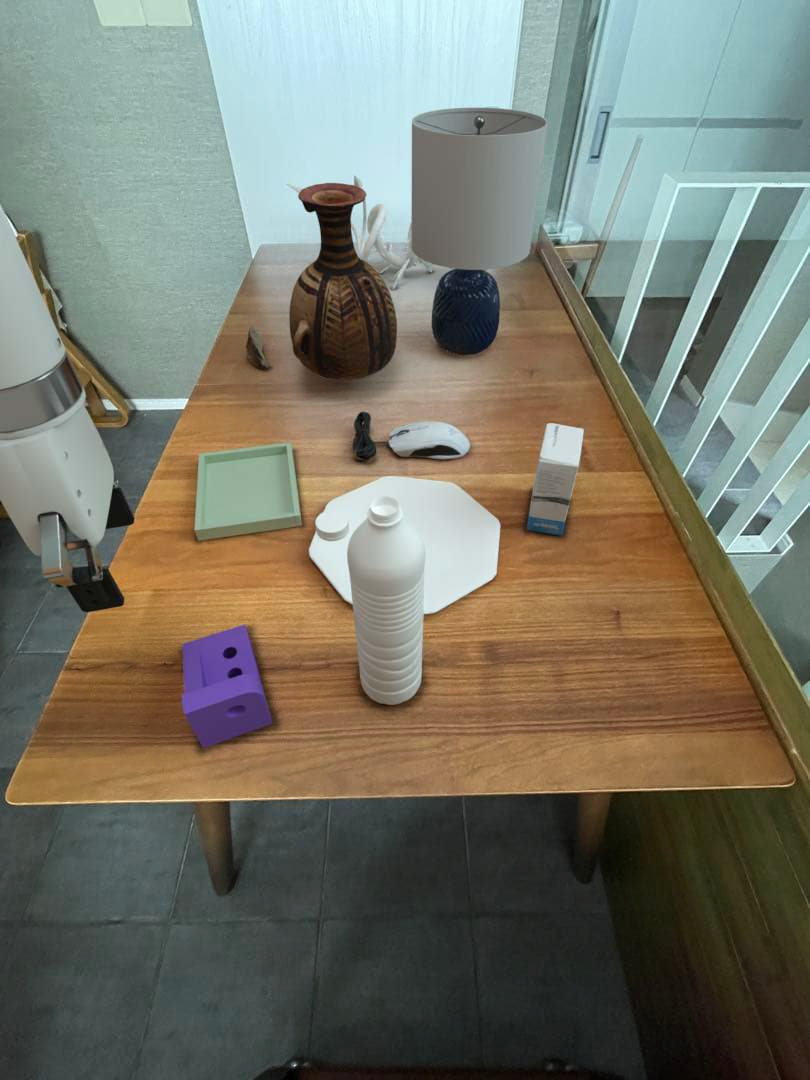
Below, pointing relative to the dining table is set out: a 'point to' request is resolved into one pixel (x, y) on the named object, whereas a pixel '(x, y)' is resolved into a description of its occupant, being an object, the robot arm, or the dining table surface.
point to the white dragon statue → (374, 227)
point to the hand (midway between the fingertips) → (111, 563)
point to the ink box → (555, 478)
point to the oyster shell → (255, 349)
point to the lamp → (473, 211)
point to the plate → (446, 529)
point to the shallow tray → (246, 491)
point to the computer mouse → (412, 440)
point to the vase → (340, 296)
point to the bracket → (223, 687)
